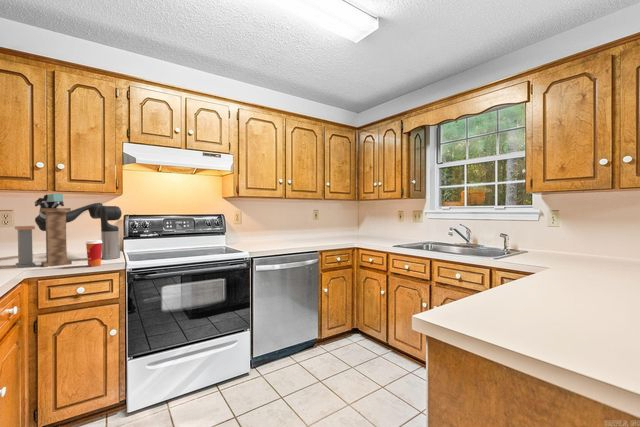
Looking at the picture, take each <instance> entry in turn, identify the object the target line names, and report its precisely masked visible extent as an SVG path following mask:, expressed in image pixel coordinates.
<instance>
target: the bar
mask: <svg viewBox="0 0 640 427" xmlns="http://www.w3.org/2000/svg"><path fill="white" fill-rule="evenodd" d="M47 196H48V198H47V202H57V203H58V202H59V203H60V201H63V202H64V197H63V196H64V194H63V193H49V194H47Z"/></svg>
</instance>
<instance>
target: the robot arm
mask: <svg viewBox="0 0 640 427" xmlns="http://www.w3.org/2000/svg"><path fill="white" fill-rule="evenodd" d="M47 195H48V193H47V194H44V195H43V197H39V198H38V199H37V200H35V201H34V206H35V207H38V206H39V212H38V215H37V216H36V217H35V218H34V222H35V223H36V226H37V227H38V228H39V230H40V231H42V232H46V213H45V212H40V208H59V207H60V206H61V207H64V206H65V204H64V200H63V201H60V202H59V203H58V202H47V198H48V196H47ZM86 211H88V212H89V213H88V214H89V216H90V217H91V219H93V220H94V219H95V220H96V219H98V220H99V219H100V232H101V237H100V240H102V242H103V243H102V250H101V260H111V259H112V260H113V259H120V258H121V243H120V241H119V240H120V237H119V236H120V235H119V232H120V231H119V226H117V225H114V224H110V223H109V221H111V222H112V221H118V220H120V219H121V217H122V210H121V208H120V207H119V206H117V205H103V203H102V202H94V203H89V204H87V205H83V206H81V207H78V208H75V209H73V210H72V209H71V212H66V224H67V223H71V222H73V221H75V220H76V219H77V218H78V217H79V216H80V215H82V214H83V213H84V212H86Z"/></svg>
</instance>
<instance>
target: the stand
mask: <svg viewBox="0 0 640 427" xmlns="http://www.w3.org/2000/svg"><path fill="white" fill-rule="evenodd" d="M39 210H40V212H45V213H46V231H45V240H46V241H45V250H46V251H45V252H46V253H45V254H46V255H45V256H46V257H45V258H46V260H45V261H44V262H41V266H42V268H47V267H48V266H50V267H56V266H57V267H59V266H65V265H72V260H70V259H68V257H67V255H68V252H67V250H68V249H67V248H68V246H67V223H66V212H71V211H72V209H71V207H69V208H68V207H67V208H66V207H57V208H40V207H39ZM48 268H49V267H48Z"/></svg>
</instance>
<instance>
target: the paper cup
mask: <svg viewBox="0 0 640 427" xmlns="http://www.w3.org/2000/svg"><path fill="white" fill-rule="evenodd" d="M102 243H103V242H102V240H101V239H95V240H94V239H93V240H92V239H91V240H90V239H89V240H86V242H85V246H86V247H85V248H86V256H87V258H86V259H87V266H88V267H91V268H94V267H101V264H102Z"/></svg>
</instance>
